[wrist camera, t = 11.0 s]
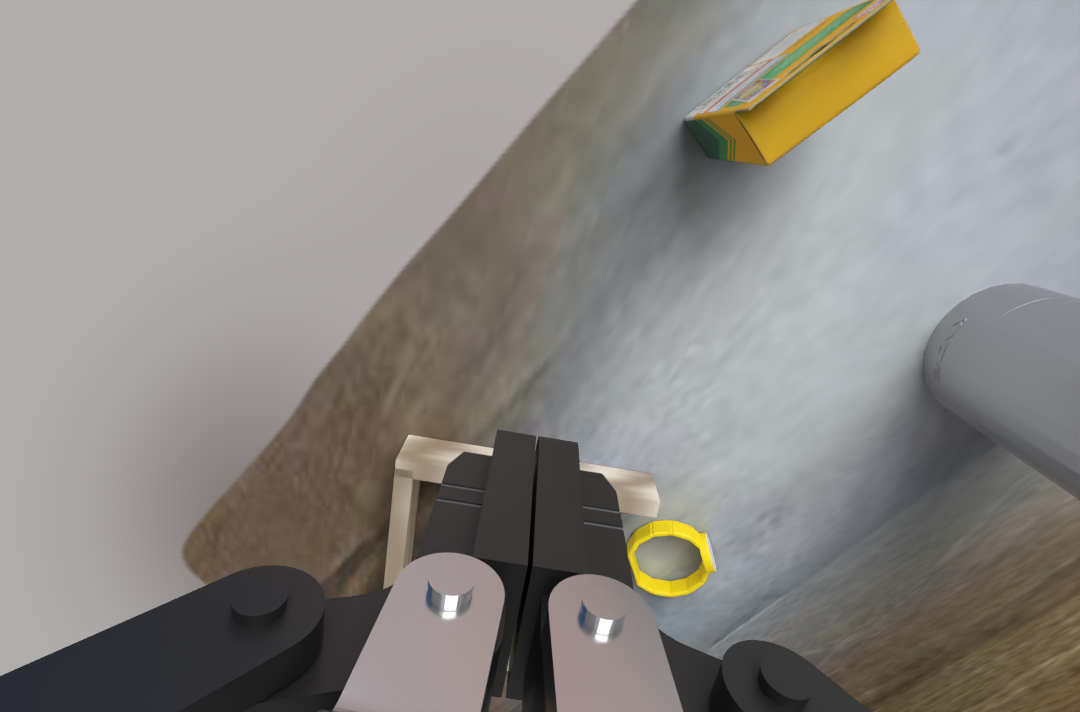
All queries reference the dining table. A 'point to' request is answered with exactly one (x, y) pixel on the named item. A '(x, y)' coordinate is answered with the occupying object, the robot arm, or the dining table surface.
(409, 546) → the open wooden frame
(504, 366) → the dining table surface
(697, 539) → the watch
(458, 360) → the dining table surface
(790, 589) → the dining table surface
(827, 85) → the crayon box
